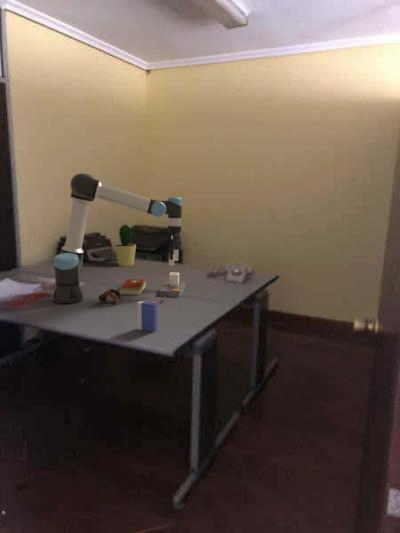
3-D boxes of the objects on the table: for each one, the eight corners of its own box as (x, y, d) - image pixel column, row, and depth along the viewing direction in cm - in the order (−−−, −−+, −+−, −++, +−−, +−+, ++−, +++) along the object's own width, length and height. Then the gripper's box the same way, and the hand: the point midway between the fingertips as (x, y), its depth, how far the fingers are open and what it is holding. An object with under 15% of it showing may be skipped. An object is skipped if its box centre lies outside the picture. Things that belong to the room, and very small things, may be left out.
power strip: (175, 303, 198) (175, 297, 197) (154, 302, 199) (154, 296, 199) (185, 287, 230) (185, 281, 229) (166, 286, 231) (166, 280, 230)
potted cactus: (122, 267, 278) (121, 225, 272) (111, 264, 290) (110, 223, 283) (140, 265, 288) (139, 224, 282) (129, 261, 299) (128, 222, 293)
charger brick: (177, 290, 222) (178, 274, 220) (169, 289, 222) (169, 274, 220) (179, 287, 227) (179, 272, 225) (170, 287, 227) (170, 272, 225)
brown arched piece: (107, 300, 204) (115, 287, 203) (118, 311, 200) (126, 298, 199) (91, 300, 194) (98, 286, 192) (102, 311, 190) (110, 297, 188)
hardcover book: (118, 295, 213) (118, 287, 212) (126, 285, 234) (126, 278, 233) (140, 295, 213) (140, 288, 212) (146, 285, 234) (146, 278, 233)
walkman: (157, 329, 163) (157, 302, 161) (154, 332, 161) (153, 304, 158) (140, 327, 166) (140, 300, 164) (137, 329, 164) (136, 301, 161)
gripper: (177, 228, 204) (176, 267, 209) (184, 223, 229) (183, 259, 233) (163, 227, 205) (162, 267, 209) (171, 222, 229) (171, 258, 234)
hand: (173, 263), depth 221 cm, fingers open, 13 cm apart
